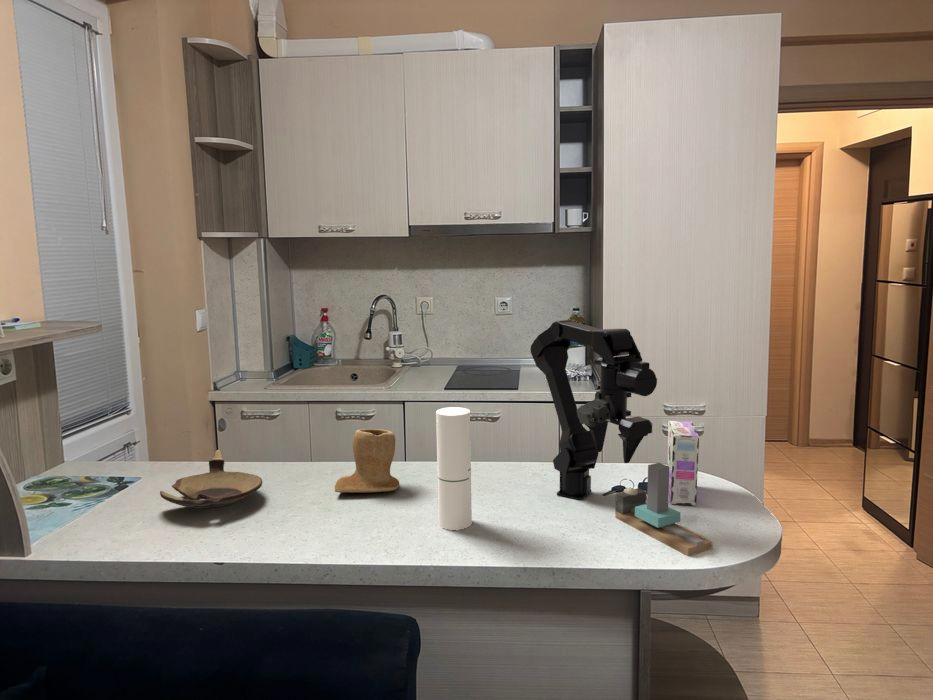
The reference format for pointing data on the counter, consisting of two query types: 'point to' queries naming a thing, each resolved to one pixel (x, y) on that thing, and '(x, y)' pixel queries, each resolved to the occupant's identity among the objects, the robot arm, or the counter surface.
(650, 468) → the carriage
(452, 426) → the cylindrical container
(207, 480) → the oil lamp
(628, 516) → the rail
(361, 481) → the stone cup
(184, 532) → the counter surface
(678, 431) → the candy box
